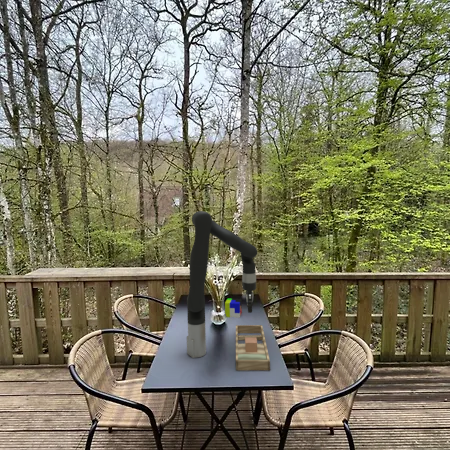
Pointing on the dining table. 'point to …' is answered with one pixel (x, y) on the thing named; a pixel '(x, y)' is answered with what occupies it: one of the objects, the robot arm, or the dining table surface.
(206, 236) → the robot arm
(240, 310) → the puzzle toy
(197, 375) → the dining table surface
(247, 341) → the block
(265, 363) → the trap lane
